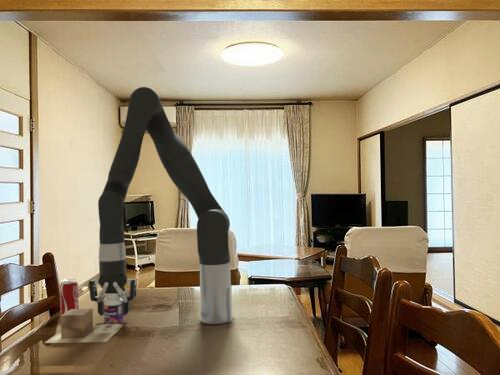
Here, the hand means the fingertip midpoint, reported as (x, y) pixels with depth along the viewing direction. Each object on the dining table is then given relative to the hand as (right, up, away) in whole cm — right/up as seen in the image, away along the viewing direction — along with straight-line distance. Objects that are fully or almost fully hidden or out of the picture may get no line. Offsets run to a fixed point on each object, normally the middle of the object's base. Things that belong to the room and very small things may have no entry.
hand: (113, 314), depth 122 cm
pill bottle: (0, -3, 0) cm, 3 cm away
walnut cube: (-6, -2, -11) cm, 13 cm away
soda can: (-17, -4, +8) cm, 19 cm away
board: (-4, -3, -10) cm, 11 cm away
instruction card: (0, -2, -7) cm, 7 cm away
